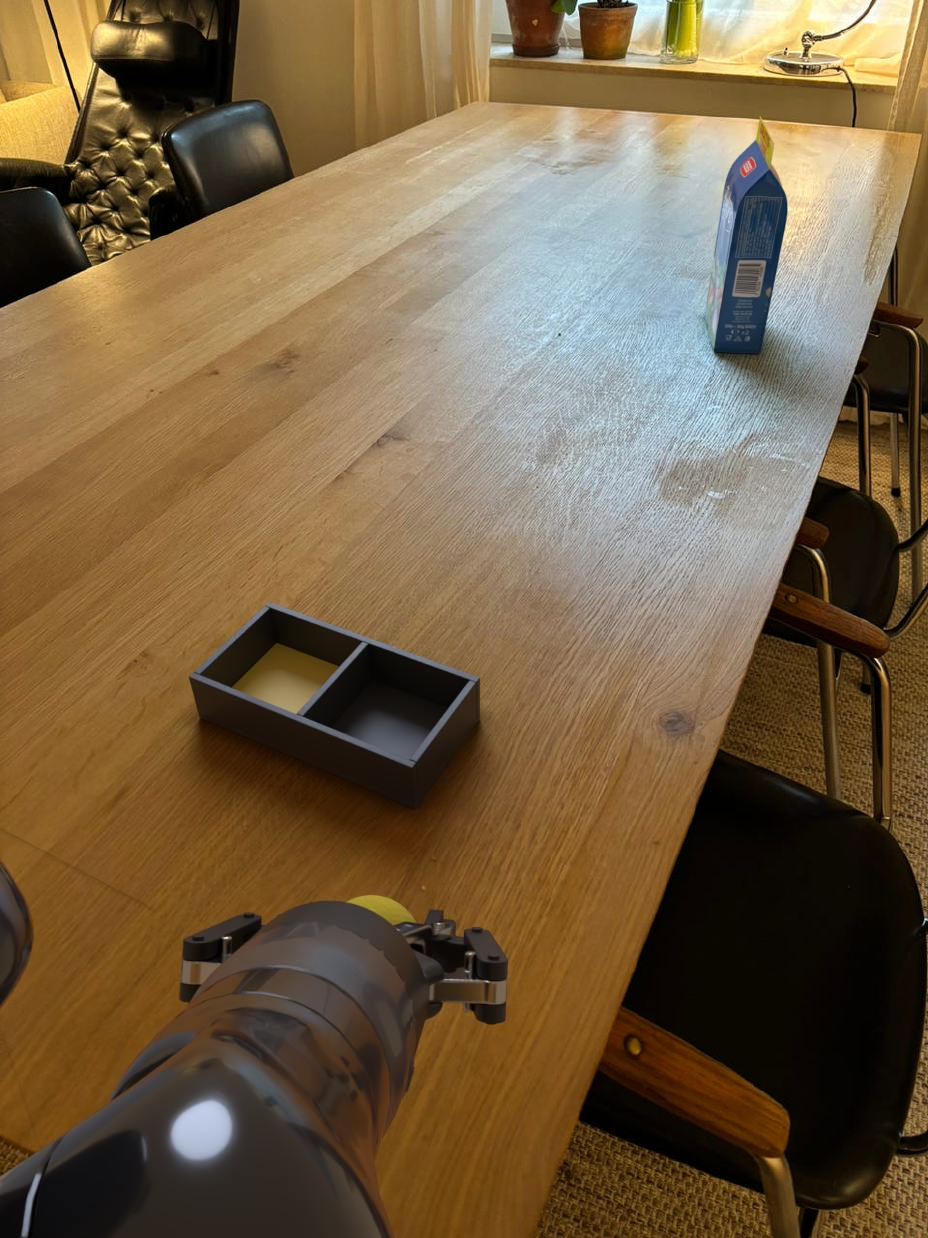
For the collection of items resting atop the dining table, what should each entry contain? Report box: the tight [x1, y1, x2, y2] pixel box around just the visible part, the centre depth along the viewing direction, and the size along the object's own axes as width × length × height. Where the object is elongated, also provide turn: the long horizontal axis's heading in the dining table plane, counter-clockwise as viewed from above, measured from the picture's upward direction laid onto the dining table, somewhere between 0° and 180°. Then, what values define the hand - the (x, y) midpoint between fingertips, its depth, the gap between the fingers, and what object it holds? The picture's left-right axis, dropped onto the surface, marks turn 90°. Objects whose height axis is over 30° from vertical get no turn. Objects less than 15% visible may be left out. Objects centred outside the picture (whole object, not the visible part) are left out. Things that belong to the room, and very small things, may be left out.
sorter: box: [188, 601, 481, 810], centre depth 77 cm, size 10×20×4 cm, turn 62°
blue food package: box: [704, 116, 789, 354], centre depth 123 cm, size 6×12×25 cm, turn 175°
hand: (375, 926), depth 51 cm, fingers closed on lemon, 5 cm apart
